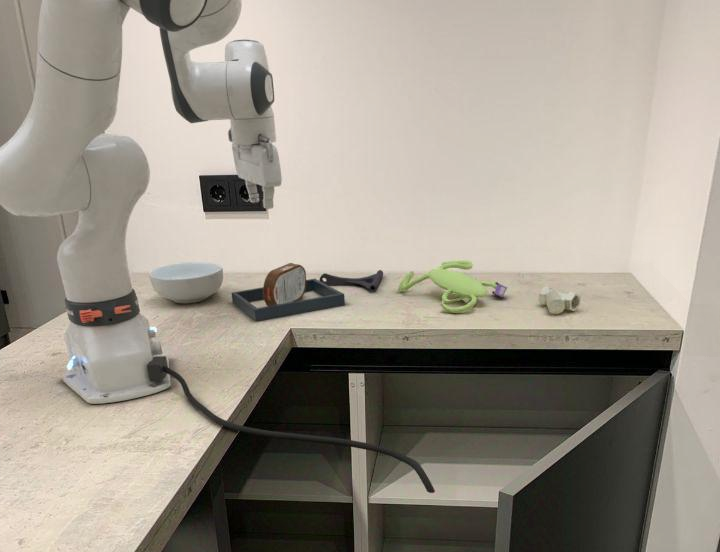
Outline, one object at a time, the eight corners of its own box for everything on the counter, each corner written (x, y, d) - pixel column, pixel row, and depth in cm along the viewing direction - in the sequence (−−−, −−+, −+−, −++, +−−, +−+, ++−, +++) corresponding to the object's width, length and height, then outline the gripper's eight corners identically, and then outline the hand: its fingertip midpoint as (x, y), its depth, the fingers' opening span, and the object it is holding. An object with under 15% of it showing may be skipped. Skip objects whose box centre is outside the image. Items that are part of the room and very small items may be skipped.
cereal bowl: (174, 313, 165) (168, 282, 162) (142, 300, 176) (137, 270, 173) (239, 297, 174) (235, 267, 171) (205, 286, 185) (201, 257, 182)
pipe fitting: (559, 319, 149) (580, 309, 152) (560, 300, 147) (581, 290, 150) (528, 311, 154) (548, 302, 157) (528, 293, 152) (549, 284, 155)
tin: (298, 294, 174) (295, 258, 170) (310, 295, 172) (307, 259, 168) (263, 312, 162) (259, 274, 158) (275, 314, 161) (271, 275, 157)
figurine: (457, 277, 180) (458, 254, 177) (524, 301, 159) (526, 275, 156) (391, 289, 173) (390, 265, 171) (452, 316, 152) (452, 290, 150)
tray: (345, 304, 164) (344, 293, 163) (255, 321, 157) (254, 309, 156) (315, 288, 178) (315, 278, 177) (232, 303, 170) (231, 292, 169)
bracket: (325, 277, 187) (324, 266, 185) (383, 276, 185) (382, 265, 183) (314, 293, 174) (313, 281, 173) (376, 292, 172) (376, 280, 171)
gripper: (285, 135, 142) (292, 210, 148) (253, 129, 158) (260, 197, 165) (254, 137, 139) (262, 214, 146) (225, 132, 156) (233, 200, 163)
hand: (261, 205), depth 156 cm, fingers open, 8 cm apart
